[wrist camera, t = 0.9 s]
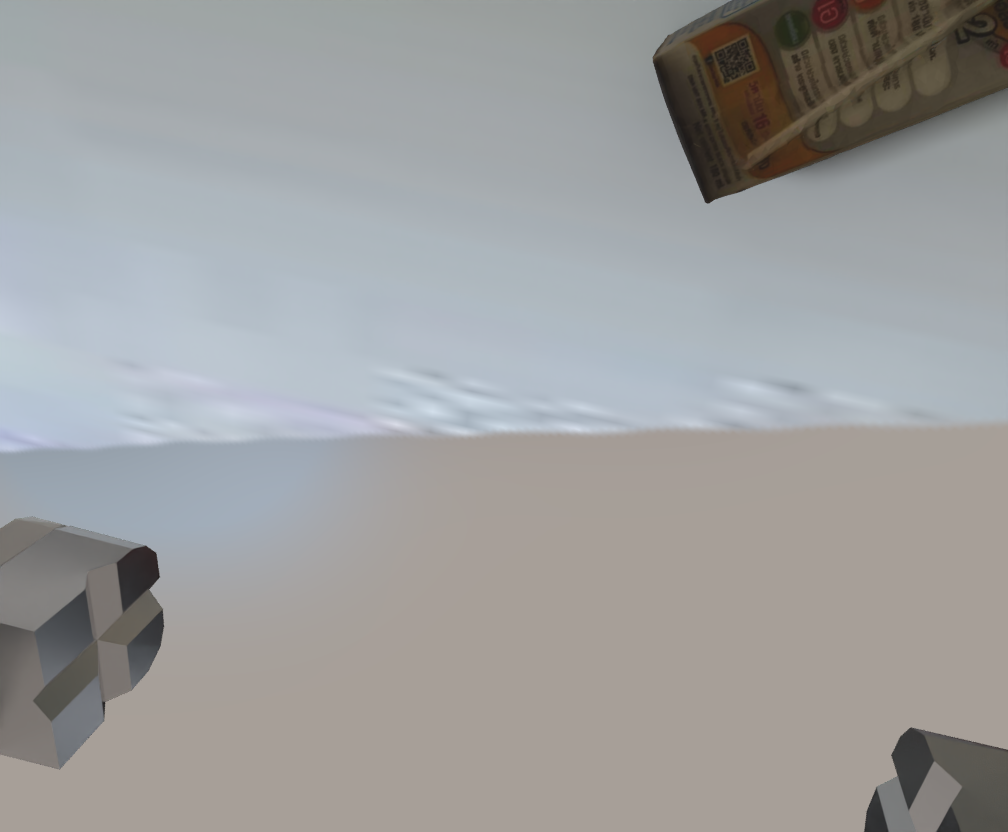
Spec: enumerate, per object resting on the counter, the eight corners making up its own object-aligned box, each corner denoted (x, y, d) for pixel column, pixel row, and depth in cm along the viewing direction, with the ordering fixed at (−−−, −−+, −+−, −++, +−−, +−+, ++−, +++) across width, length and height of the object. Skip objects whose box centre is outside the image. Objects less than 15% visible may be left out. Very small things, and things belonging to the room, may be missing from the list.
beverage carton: (1138, 7, 33) (1201, 28, 28) (710, 178, 43) (698, 217, 37) (1112, -196, 30) (1176, -216, 25) (658, 36, 40) (636, 57, 34)
